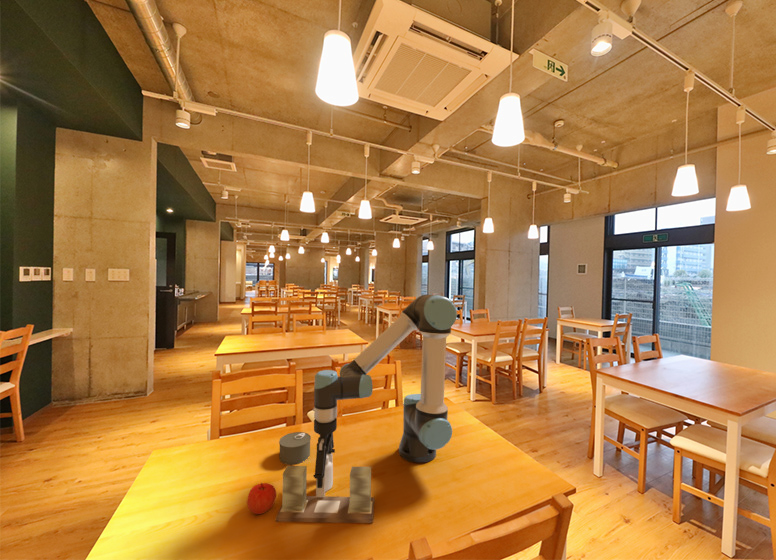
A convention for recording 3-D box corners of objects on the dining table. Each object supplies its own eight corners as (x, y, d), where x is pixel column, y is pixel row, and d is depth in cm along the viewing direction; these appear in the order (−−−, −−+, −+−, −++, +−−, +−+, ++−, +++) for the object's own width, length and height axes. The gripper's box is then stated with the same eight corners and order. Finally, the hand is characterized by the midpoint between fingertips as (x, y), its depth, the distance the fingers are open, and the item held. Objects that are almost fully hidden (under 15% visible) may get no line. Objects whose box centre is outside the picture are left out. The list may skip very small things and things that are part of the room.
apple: (241, 519, 89) (242, 491, 90) (255, 499, 97) (255, 474, 98) (268, 520, 89) (269, 492, 89) (279, 501, 97) (280, 475, 97)
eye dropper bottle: (315, 486, 104) (315, 450, 104) (332, 482, 106) (332, 447, 106) (316, 494, 100) (317, 457, 100) (334, 491, 102) (334, 454, 102)
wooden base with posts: (374, 501, 97) (374, 462, 97) (372, 523, 88) (373, 480, 88) (286, 499, 98) (286, 460, 98) (275, 521, 89) (276, 478, 89)
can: (272, 461, 119) (272, 443, 119) (292, 446, 130) (293, 429, 130) (297, 468, 114) (297, 449, 114) (316, 452, 126) (316, 435, 126)
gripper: (322, 404, 115) (321, 462, 115) (304, 435, 92) (303, 509, 91) (342, 404, 115) (341, 463, 115) (329, 435, 91) (328, 509, 91)
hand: (324, 483), depth 103 cm, fingers open, 11 cm apart
